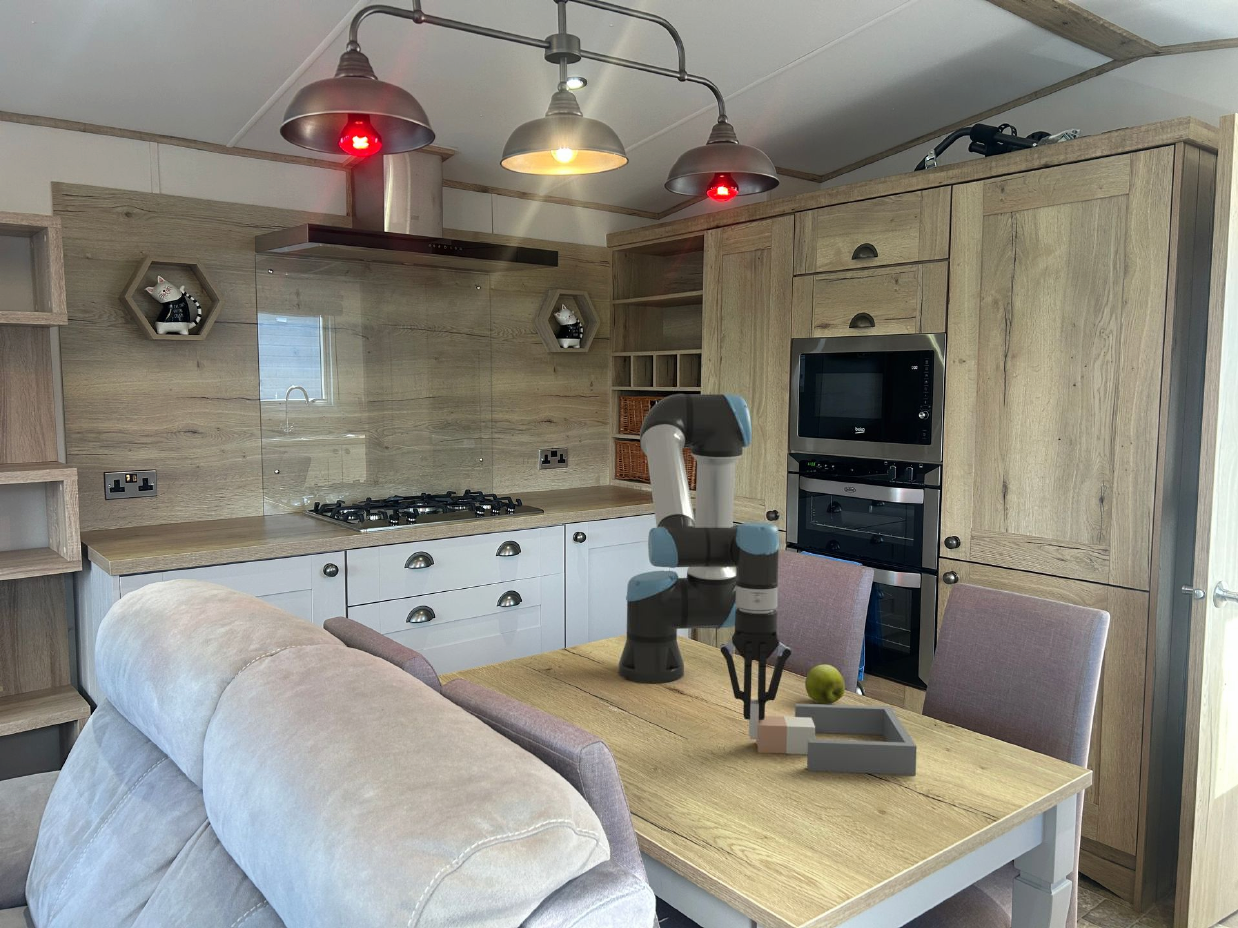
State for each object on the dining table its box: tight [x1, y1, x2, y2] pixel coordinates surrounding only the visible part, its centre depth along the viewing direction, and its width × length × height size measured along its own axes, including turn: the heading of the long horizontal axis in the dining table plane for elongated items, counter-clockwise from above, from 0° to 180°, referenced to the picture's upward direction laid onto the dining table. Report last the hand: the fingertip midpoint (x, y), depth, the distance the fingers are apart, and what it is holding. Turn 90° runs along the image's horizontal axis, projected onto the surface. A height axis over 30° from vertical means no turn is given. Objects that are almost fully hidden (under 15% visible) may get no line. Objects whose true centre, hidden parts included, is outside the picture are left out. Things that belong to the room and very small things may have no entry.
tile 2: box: [783, 716, 816, 755], centre depth 165 cm, size 5×5×5 cm
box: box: [794, 703, 918, 776], centre depth 164 cm, size 20×18×5 cm
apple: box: [804, 664, 846, 705], centre depth 190 cm, size 8×9×8 cm
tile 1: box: [755, 715, 787, 754], centre depth 165 cm, size 5×5×5 cm
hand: (753, 736), depth 166 cm, fingers closed
